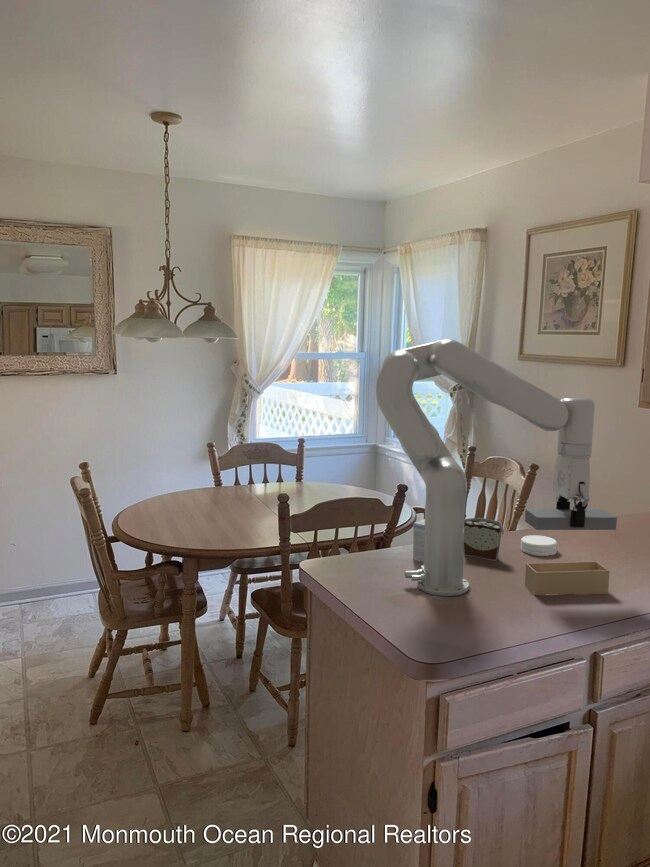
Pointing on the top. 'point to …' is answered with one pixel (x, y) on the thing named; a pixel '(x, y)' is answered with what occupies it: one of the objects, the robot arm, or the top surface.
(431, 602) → the top surface
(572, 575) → the tan open box
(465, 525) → the food container
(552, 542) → the white short cylinder
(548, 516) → the lid
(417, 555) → the light bulb box
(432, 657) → the top surface
